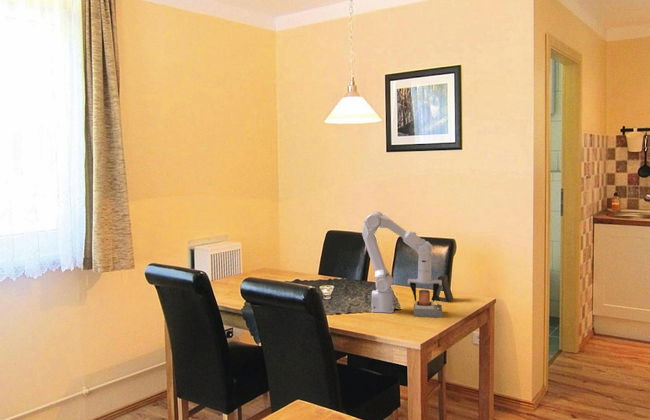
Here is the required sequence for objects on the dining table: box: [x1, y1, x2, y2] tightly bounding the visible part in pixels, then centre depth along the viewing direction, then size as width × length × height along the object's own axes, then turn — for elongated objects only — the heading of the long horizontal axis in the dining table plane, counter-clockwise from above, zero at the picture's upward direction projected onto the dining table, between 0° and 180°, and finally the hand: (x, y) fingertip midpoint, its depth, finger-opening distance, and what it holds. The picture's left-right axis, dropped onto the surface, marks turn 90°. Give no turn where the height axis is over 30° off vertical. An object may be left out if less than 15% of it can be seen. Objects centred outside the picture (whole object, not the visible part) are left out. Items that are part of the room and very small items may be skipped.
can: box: [418, 289, 431, 306], centre depth 245 cm, size 5×5×7 cm
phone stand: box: [430, 273, 454, 303], centre depth 268 cm, size 9×6×12 cm, turn 60°
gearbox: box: [413, 300, 443, 318], centre depth 245 cm, size 12×9×4 cm
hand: (424, 300), depth 245 cm, fingers open, 7 cm apart
